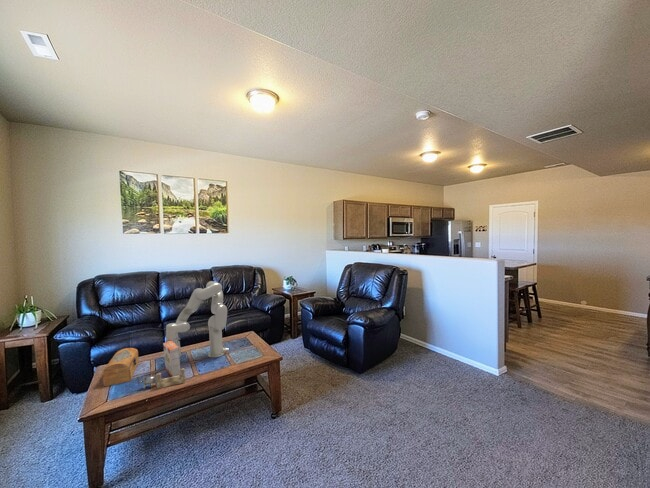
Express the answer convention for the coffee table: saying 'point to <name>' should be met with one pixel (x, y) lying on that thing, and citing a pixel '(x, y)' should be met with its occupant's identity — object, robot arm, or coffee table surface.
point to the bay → (170, 380)
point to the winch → (148, 380)
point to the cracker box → (172, 358)
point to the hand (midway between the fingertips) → (173, 365)
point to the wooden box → (121, 367)
